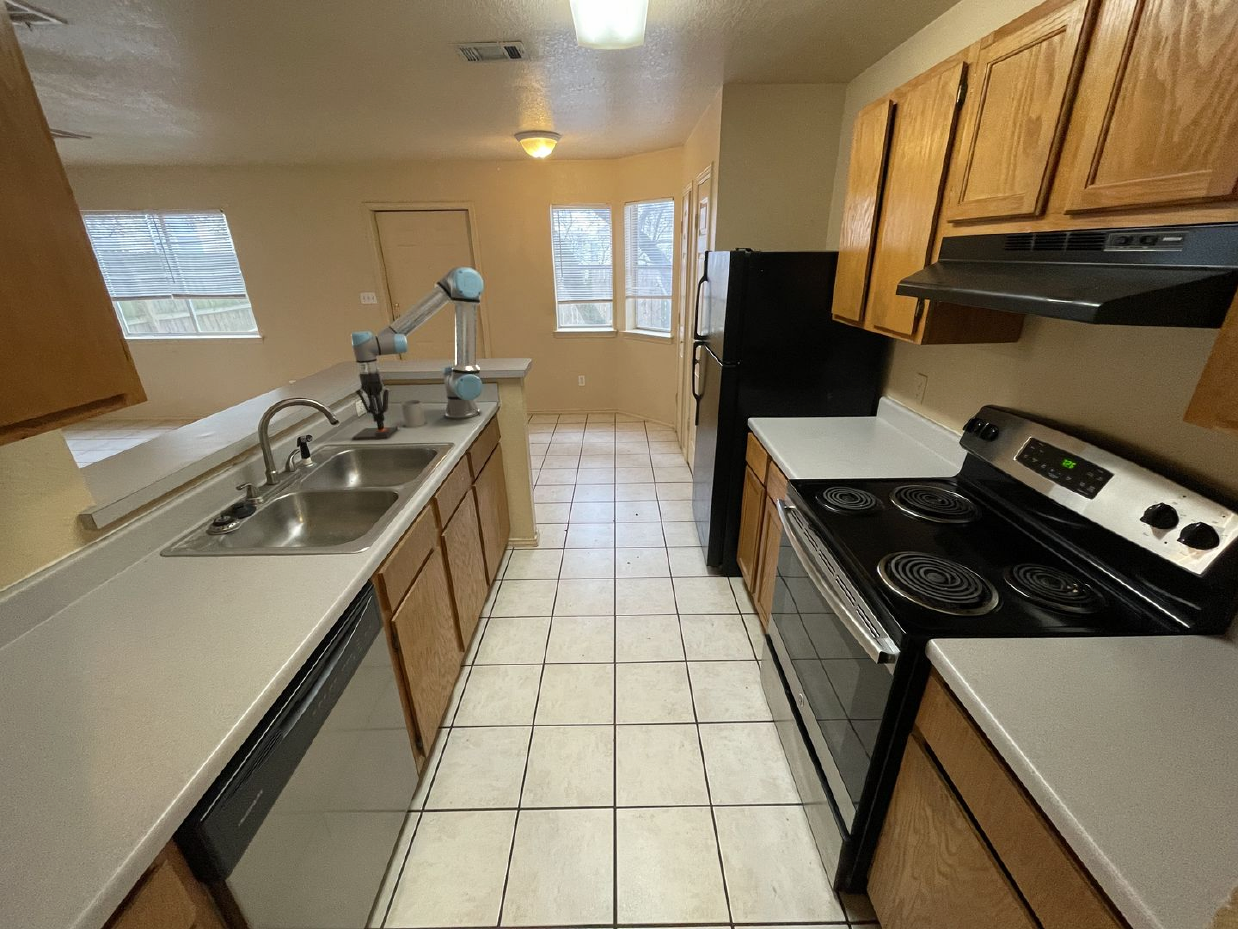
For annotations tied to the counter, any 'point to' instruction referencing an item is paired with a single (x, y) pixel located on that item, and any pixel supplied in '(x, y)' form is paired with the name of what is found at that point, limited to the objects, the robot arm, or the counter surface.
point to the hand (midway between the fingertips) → (381, 428)
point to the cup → (412, 413)
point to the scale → (375, 433)
